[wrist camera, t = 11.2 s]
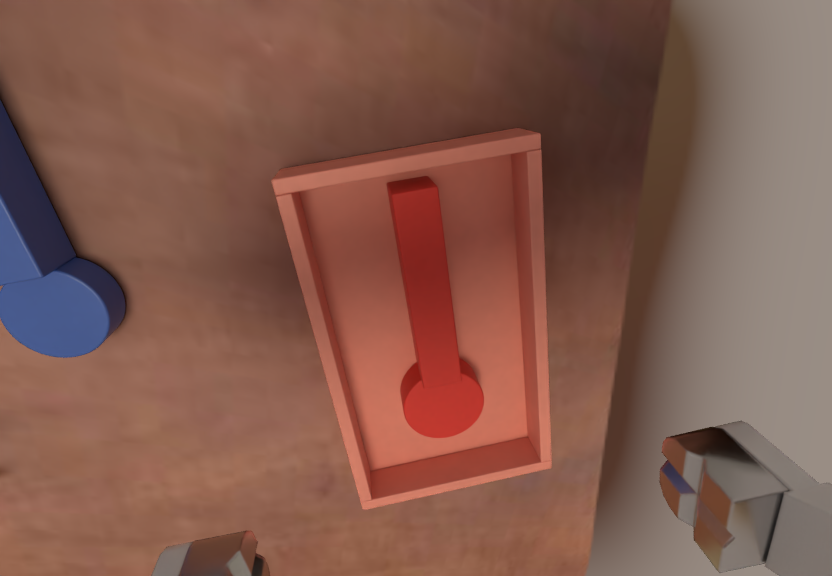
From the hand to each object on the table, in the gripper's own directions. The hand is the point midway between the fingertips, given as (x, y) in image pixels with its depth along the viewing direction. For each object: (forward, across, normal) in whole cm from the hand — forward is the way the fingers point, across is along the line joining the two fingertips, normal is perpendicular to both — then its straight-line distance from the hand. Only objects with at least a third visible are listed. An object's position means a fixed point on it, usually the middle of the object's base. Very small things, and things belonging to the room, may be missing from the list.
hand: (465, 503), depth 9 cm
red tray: (+14, -1, +4) cm, 14 cm away
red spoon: (+13, -1, +3) cm, 13 cm away
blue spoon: (+14, +14, -6) cm, 20 cm away
